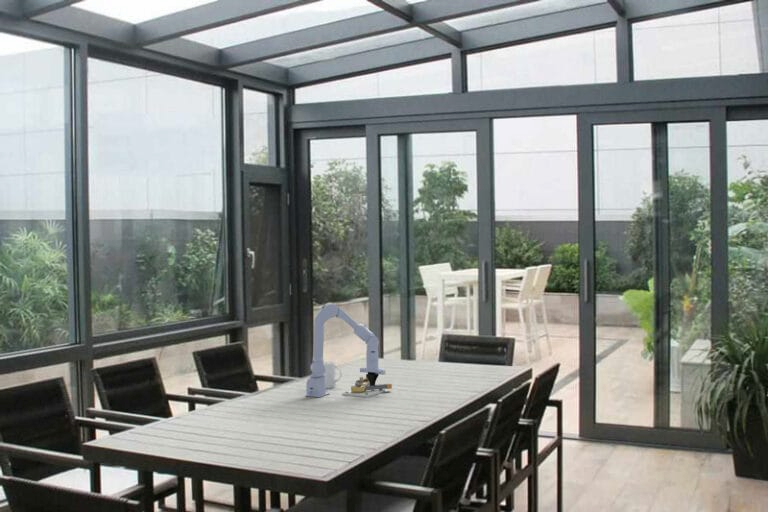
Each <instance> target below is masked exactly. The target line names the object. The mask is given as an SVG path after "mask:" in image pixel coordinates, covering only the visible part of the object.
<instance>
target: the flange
mask: <svg viewBox="0 0 768 512" xmlns="http://www.w3.org/2000/svg"><path fill="white" fill-rule="evenodd" d="M354 386H362V385H361V383H356V382H355V383H354ZM385 392H386V389H377V390H366V392H361V393H354V392H351V390H349V391H348V390H347V391H344V392H342V396H345V397H346V396H350V397H358V396H359V397H360V398H370V397H372V396H376V395H380V394H382V393H385Z"/></svg>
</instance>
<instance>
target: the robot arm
mask: <svg viewBox="0 0 768 512" xmlns="http://www.w3.org/2000/svg"><path fill="white" fill-rule="evenodd" d="M335 317H336V318H338V319H341V320H343V321H344V322H345V323H346V324H348V325H349V326H350V328H352V329H353V334H354V335H355V336H357V337H358V338H359V339H360V340H362V341H363V342H365V344H366V353H365V354H366V360H365V361H366V362H365V363H366V367H359V372H360V373H366V375H365V377H366V376H367V378H368V380H369V383H370V385H376V381H377V380H378V377H379V375H381V376H383V375H386V370H385V369H381V368H379V344H380V339H379V338H378V336H376V335H375V334H374V332H373V331H371V330H369V329H368V328H367V325H366V324H362V323H358V322H356V321H355V320H354V318H352V317H351V316H350V315H349V314H348V313H347V312H346V311H345V310H343V309H341V308H340V306H337V305H336V304H334V302H327V303H324V305H322V306H321V308H320V309H319V310H318V313H317V314H316V315H315V316H314V319H313V347H312V348H313V351H312V352H313V355H312V362H311V364H310V371H311V373H310V377H309V379H307V380H306V384H305V385H306V394H304V396H305V397H313V398H320V397H323V396H327V395H330V392H327V388H326V375H325V374H324V373H325V367H324V362H325V361H324V341H325V340H324V337H325V335H324V334H325V326H324V325H325V323H327V321H329V320H330V319H333V318H335Z"/></svg>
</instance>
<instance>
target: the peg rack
mask: <svg viewBox="0 0 768 512" xmlns="http://www.w3.org/2000/svg"><path fill="white" fill-rule="evenodd" d="M355 383H361V385H364V386H368V385H370V383H369V380H368V378H367V376H366V375H365V378H364V376H359V379H358V380H355Z"/></svg>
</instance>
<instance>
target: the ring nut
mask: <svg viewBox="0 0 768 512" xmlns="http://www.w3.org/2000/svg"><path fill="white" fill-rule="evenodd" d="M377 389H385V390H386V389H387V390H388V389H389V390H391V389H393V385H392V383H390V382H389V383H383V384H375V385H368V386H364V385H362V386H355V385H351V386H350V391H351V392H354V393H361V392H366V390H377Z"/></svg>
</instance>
